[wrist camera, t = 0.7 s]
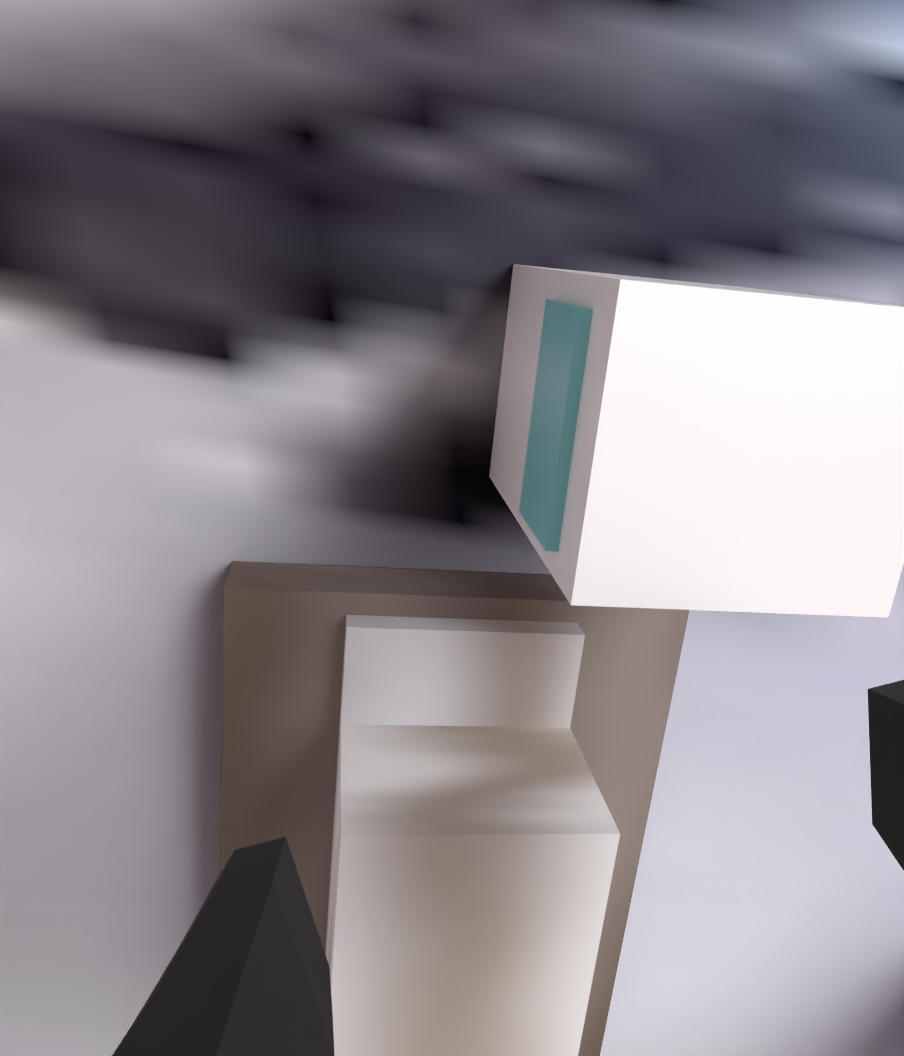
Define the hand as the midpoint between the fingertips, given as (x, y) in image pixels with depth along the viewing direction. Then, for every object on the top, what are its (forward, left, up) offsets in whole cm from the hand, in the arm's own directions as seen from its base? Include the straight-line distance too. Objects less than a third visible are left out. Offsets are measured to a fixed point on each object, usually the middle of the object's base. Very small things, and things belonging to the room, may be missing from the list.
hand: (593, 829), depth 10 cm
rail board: (0, +12, -10) cm, 16 cm away
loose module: (-3, -4, -10) cm, 11 cm away
